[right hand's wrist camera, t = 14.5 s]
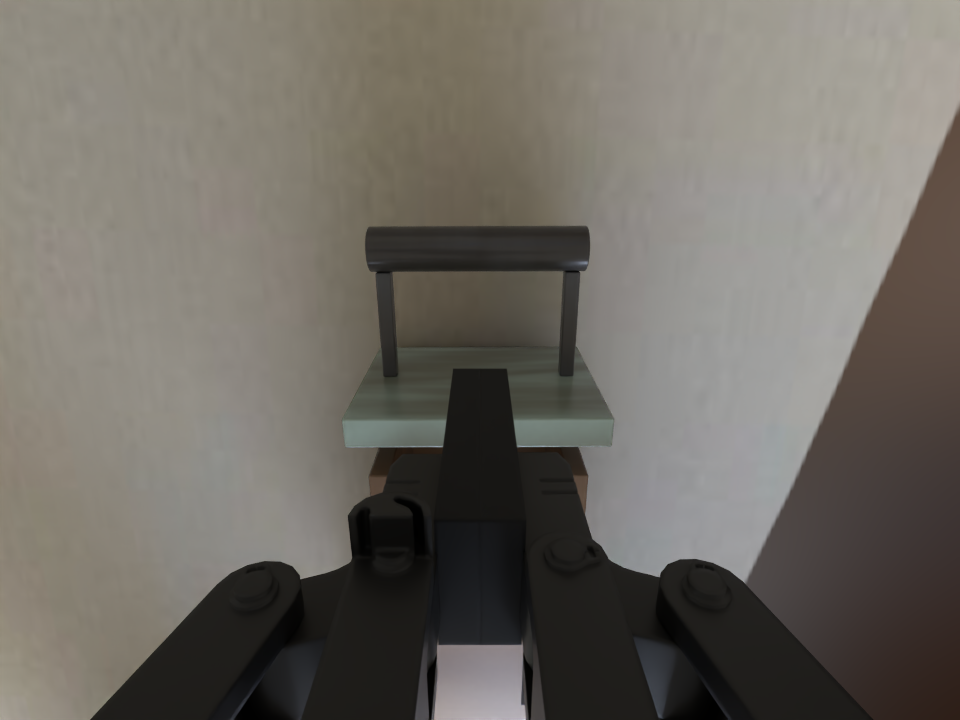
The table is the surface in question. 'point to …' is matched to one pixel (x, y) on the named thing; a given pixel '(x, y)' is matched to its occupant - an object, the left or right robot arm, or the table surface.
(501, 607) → the right robot arm
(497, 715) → the cabinet
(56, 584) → the table surface
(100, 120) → the table surface
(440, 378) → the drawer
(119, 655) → the table surface
